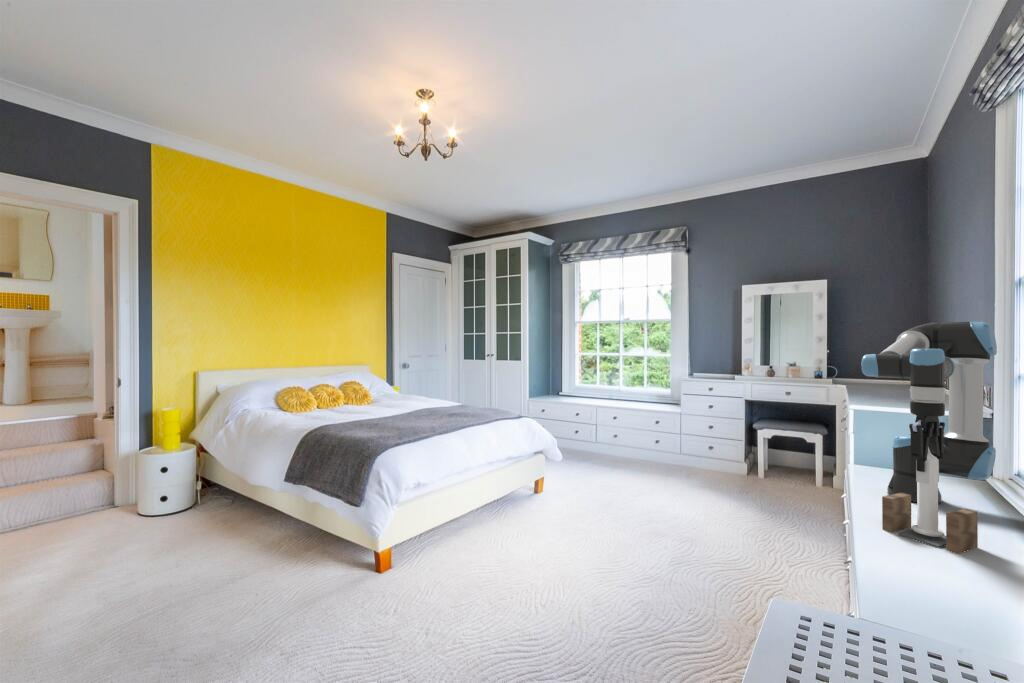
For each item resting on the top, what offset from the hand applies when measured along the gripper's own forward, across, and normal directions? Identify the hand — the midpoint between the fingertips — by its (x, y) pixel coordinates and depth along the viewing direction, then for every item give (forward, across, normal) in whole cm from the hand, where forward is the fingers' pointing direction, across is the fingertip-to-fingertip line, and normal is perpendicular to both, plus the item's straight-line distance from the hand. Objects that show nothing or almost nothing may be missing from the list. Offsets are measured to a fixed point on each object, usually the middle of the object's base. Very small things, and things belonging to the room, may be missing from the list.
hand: (927, 481), depth 135 cm
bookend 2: (+16, 0, +8) cm, 18 cm away
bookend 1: (+16, 0, -8) cm, 18 cm away
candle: (+15, 0, 0) cm, 15 cm away
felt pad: (+16, 0, 0) cm, 16 cm away
